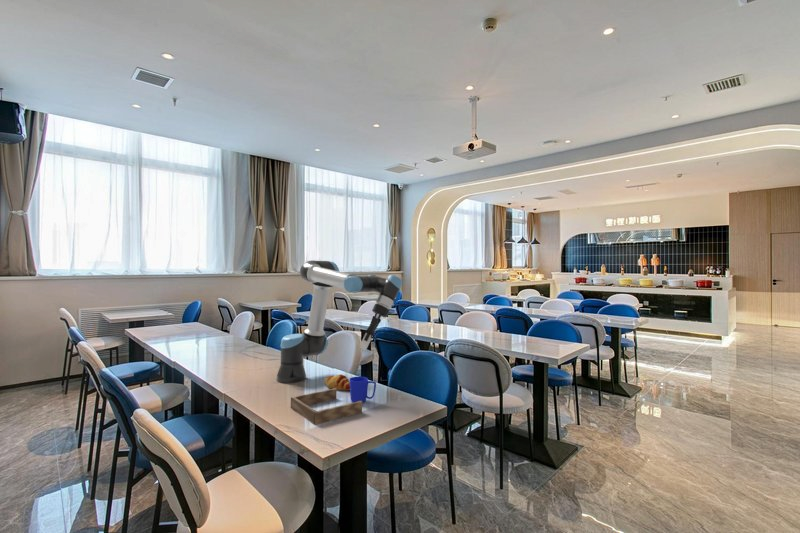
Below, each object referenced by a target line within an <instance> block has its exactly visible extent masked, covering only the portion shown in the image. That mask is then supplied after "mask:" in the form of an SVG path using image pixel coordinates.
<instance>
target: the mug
mask: <svg viewBox="0 0 800 533" xmlns="http://www.w3.org/2000/svg"><path fill="white" fill-rule="evenodd" d="M349 382H350V391H349V392H350V396H349V397H350V400H351V401H350V402H351V403H354V402H358V401H362V403H364V402H366V400H367V399H369V400H371V399H373V398H374V396H375V394H376V386H377V382H376V381H374V380H373V381H372V380H369V378H368V377H366V376H353V377H350V378H349ZM369 384H373V391H372V395H371V396H369V395H368V388H369Z"/></svg>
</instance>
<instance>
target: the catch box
mask: <svg viewBox="0 0 800 533" xmlns="http://www.w3.org/2000/svg"><path fill="white" fill-rule="evenodd" d="M333 400H337V389H336V388H334V389H332V388H329V389H324V390H320V391H315V392H311V393H305V394H300V395H296V396H295V395H294V396H291V397H290V408H291V410H293V411H295V412H296V413H297V414H299V415H300V416H301V417H303V418H305V419H306V420H307V421H309V422H310V423H311V424H313V425H320V424H323V423H327V422H330V421H335V420H339V419H341V418H347V417H350V416H355V415H358V414H362V413H363V402H362V401H358V402H349V403H346V404H341V405H338V406H333V407H329V408H324V409H319V410H316V409H314V408H313V407H311V406H310V405H314V404H320V403H324V402H329V401H333Z"/></svg>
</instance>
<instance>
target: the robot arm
mask: <svg viewBox="0 0 800 533" xmlns="http://www.w3.org/2000/svg"><path fill="white" fill-rule="evenodd" d="M299 275H300V277H301V278H302V279H303V280H304V281H305V282H308V283H311V284H312V285H313V293H312V300H311V306H310V311H309V312H310V313H309V317H308V323H307V324H308V325H307V328H306V329H304V331H303V334H302V333H292V334H291V333H290V334H287V335H284V336H283V337H282V338H281V341H280V365H279V367H278V368H279V369H278V371H277V374H276V381H277V382H278V383H283V384H285V383H286V384H288V383H289V384H293V383H299V382H303V381H305V380H306V379H307V373H306V370H305V366H304V358H307V357H313V356H318V355H321V354H323V353H324V352H326V350H327V348H328V345H329V341H328V336H327V335H326V332H325V330H324V326H325V322H326V320H325V319H326V315H327V308H328V302H329V296H330V290H331V289H332V288H333V287H336V288H341V289H343V290H345V291H346V292H348V293H353V294H356V293H378V294H379V295H378V296H377V299H376V301H375V303H374V305H373V307H372V309H371V310H372V312H373V313H374V315H373V316H372V318H371V320H370V324H369V325H368V328H367V329H365V330H364V333H365V334H364V335H363V338H362V340H361V342H360V343H359V345H358V347H359V349H361V350H363V351H365V352H366V351H367V349H368V347H369V345H370V343H371V341H372V339H373V340H374V334H375V332H376V329H377V328H378V327H379V324H380V323H381V321H382V319H381V317H383V318H387V317H388V315H389V314H390V310H391V309H392V307H393V306H394V305H395V304H394V303H395V300H396V298H397V296H398V294H399V292H400V290H401V288H402V285H403V282H404V281H403V280H402V278H400V277H399V276H396V275H395V274H389V275H388V277H387V278H384V277H380V276H378V275H375V274H367V275H363V276H361V275H356V274H351V273H347V272H342V271H340V269H339V266H338V265H337V263H335V262H334V261H329V260H311V259H310V260H307V261H305V262H304V263H302V265H301V266H300V268H299Z"/></svg>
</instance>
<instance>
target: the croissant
mask: <svg viewBox="0 0 800 533" xmlns="http://www.w3.org/2000/svg"><path fill="white" fill-rule="evenodd" d="M324 384H325V385H326V387H328V388H329V389H334V388H336V389H337V390H340V391H349V390H350V379H349V378H347V376H346V375H344V374H342V373H341V374H336V375H330V376H326V378H324Z"/></svg>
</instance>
